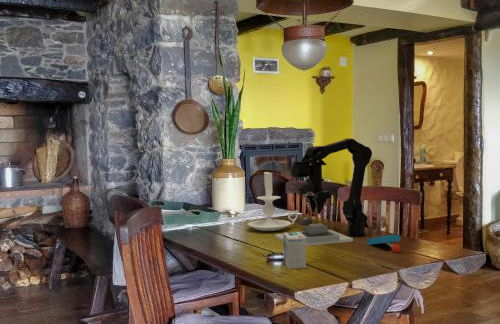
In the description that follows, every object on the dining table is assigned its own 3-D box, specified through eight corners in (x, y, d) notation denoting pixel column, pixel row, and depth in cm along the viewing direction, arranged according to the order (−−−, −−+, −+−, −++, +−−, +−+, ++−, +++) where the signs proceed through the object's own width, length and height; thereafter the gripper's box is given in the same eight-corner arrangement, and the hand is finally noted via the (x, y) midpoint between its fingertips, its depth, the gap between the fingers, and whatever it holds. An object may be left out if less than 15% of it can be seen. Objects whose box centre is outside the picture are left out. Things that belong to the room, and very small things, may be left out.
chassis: (330, 232, 252) (330, 225, 252) (353, 241, 231) (353, 233, 230) (274, 237, 244) (274, 230, 244) (293, 247, 223) (292, 239, 223)
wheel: (309, 222, 248) (308, 216, 248) (314, 224, 242) (313, 218, 242) (297, 223, 246) (297, 217, 246) (302, 225, 241) (302, 219, 241)
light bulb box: (283, 261, 200) (282, 232, 200) (301, 260, 201) (300, 231, 200) (287, 269, 190) (287, 238, 189) (307, 268, 190) (306, 237, 190)
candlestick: (304, 232, 254) (303, 171, 252) (252, 235, 250) (250, 174, 248) (293, 224, 274) (291, 168, 272) (244, 227, 270) (242, 170, 268)
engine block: (322, 236, 237) (322, 222, 237) (327, 238, 232) (327, 224, 232) (305, 237, 235) (305, 224, 234) (310, 240, 230) (309, 226, 230)
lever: (369, 256, 224) (390, 253, 207) (366, 239, 225) (388, 235, 208) (384, 255, 226) (407, 252, 209) (381, 237, 227) (404, 233, 210)
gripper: (289, 175, 238) (290, 211, 239) (306, 179, 221) (306, 217, 222) (313, 174, 242) (313, 209, 243) (331, 177, 224) (332, 215, 225)
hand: (315, 213), depth 233 cm, fingers open, 5 cm apart
